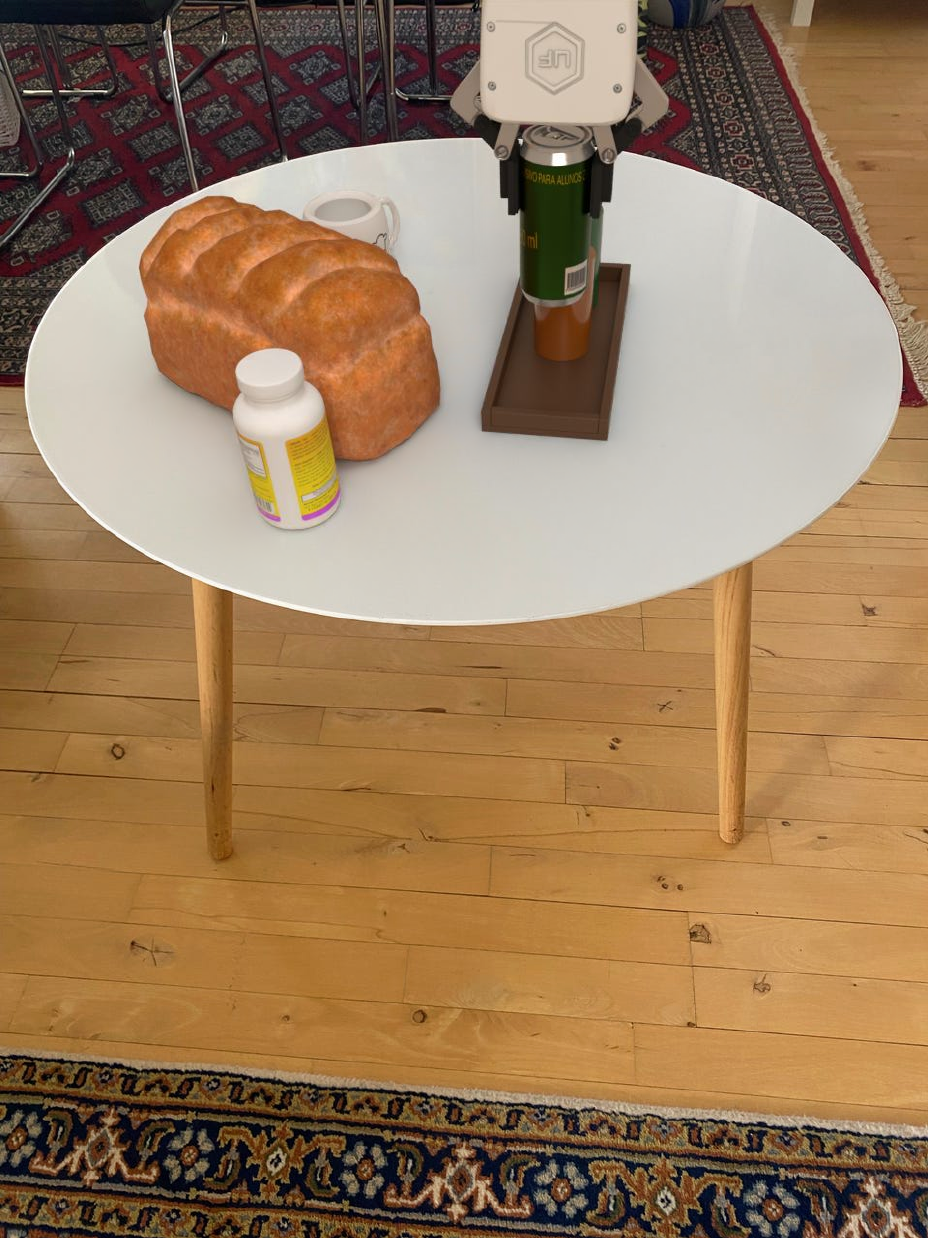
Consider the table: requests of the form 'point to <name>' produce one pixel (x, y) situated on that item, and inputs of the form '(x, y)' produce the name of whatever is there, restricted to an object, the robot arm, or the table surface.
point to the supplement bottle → (285, 440)
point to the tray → (558, 371)
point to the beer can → (555, 213)
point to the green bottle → (597, 252)
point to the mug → (355, 216)
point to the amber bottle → (566, 325)
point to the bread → (291, 317)
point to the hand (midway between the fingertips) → (555, 206)
